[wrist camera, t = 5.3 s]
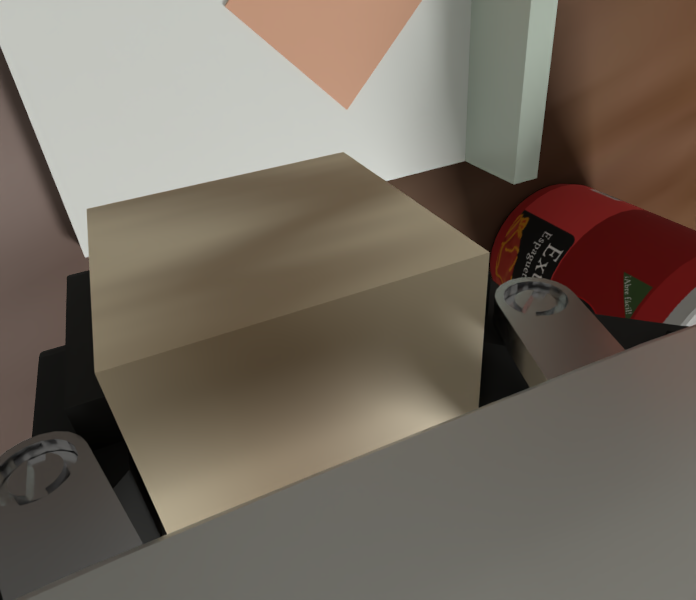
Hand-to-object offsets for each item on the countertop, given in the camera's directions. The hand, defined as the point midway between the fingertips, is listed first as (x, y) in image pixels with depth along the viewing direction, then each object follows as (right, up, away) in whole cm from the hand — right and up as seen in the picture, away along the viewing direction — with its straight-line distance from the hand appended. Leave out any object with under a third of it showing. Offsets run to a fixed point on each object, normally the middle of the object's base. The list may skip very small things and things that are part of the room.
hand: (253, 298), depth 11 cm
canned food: (+13, +3, +20) cm, 24 cm away
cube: (0, 0, 0) cm, 0 cm away
